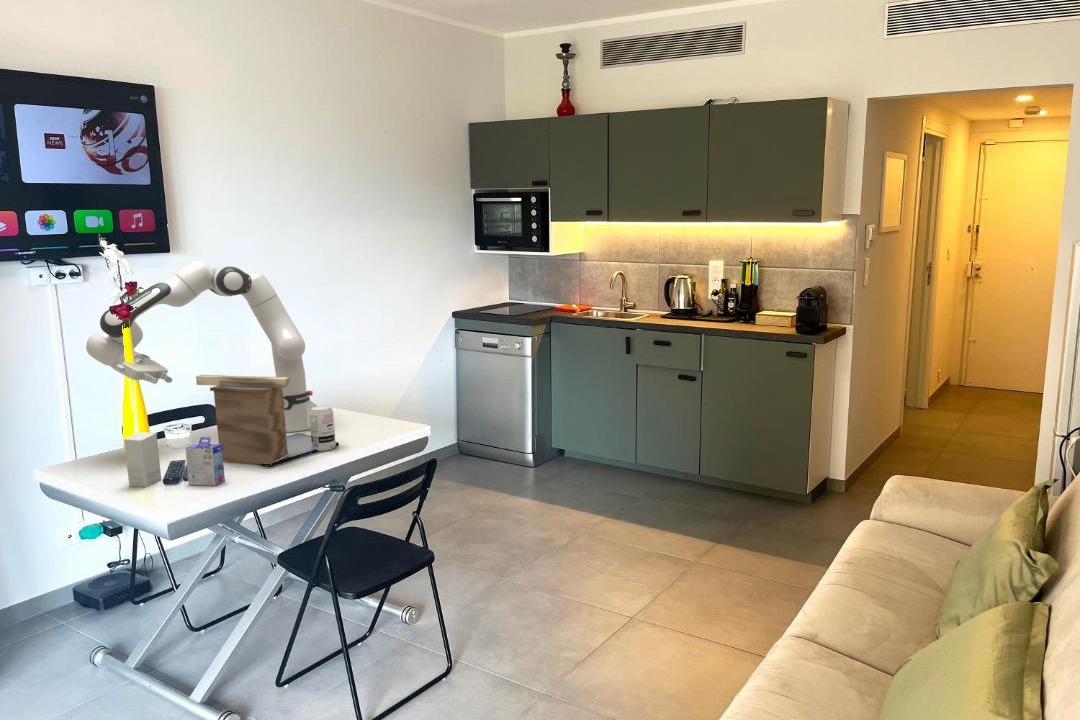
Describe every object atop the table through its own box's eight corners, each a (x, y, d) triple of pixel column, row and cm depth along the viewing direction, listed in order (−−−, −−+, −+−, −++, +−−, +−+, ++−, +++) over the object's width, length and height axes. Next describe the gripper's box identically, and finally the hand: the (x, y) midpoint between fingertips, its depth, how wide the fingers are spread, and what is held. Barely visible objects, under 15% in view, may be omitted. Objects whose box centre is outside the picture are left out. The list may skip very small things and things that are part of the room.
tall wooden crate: (237, 453, 297) (230, 376, 293) (291, 456, 291) (284, 377, 286) (217, 462, 287) (209, 382, 282) (272, 465, 281) (265, 383, 276)
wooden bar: (202, 383, 292) (201, 374, 291) (290, 386, 282) (289, 377, 281) (196, 384, 289) (195, 376, 288) (285, 387, 279) (284, 379, 278)
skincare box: (144, 478, 271) (139, 431, 268) (163, 479, 270) (158, 432, 267) (128, 486, 263) (122, 438, 260) (147, 487, 261) (141, 439, 259)
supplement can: (317, 445, 305) (314, 405, 302) (339, 445, 304) (336, 405, 301) (308, 451, 297) (305, 410, 294) (331, 451, 296) (328, 410, 293)
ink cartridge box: (226, 480, 266) (222, 436, 263) (216, 486, 260) (211, 441, 258) (198, 479, 268) (194, 435, 265) (188, 485, 262) (183, 440, 260)
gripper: (116, 355, 281) (151, 373, 280) (149, 355, 301) (182, 372, 300) (108, 371, 281) (143, 390, 280) (141, 370, 301) (174, 388, 300)
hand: (163, 381), depth 290 cm, fingers open, 8 cm apart
